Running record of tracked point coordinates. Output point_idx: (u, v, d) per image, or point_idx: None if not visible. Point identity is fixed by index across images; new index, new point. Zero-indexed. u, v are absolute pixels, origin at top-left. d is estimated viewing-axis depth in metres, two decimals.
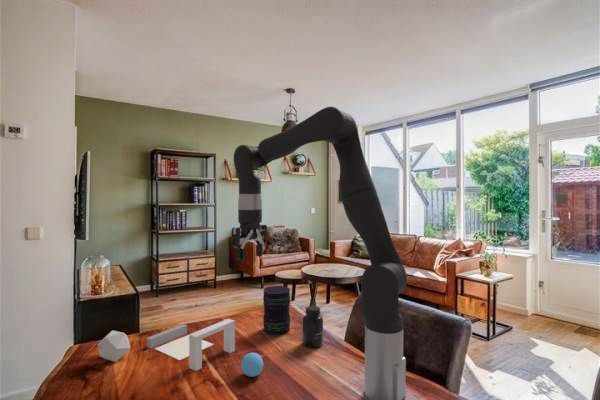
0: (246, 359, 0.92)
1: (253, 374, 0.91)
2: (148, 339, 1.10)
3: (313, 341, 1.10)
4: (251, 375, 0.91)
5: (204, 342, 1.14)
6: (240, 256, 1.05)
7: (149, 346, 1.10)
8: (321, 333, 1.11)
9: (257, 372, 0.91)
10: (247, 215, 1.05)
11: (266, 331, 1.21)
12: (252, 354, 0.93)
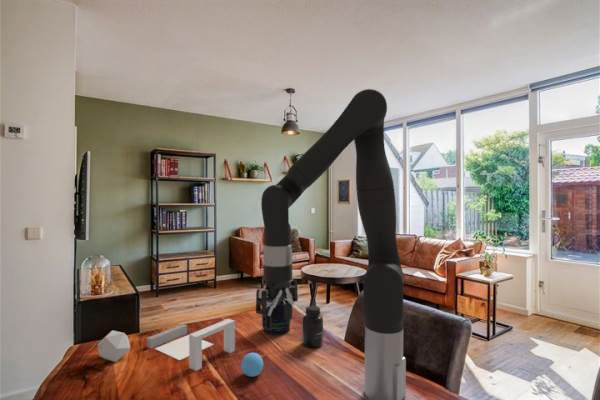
0: (246, 359, 0.92)
1: (253, 374, 0.91)
2: (148, 339, 1.10)
3: (313, 341, 1.10)
4: (251, 375, 0.91)
5: (204, 342, 1.14)
6: (267, 325, 0.84)
7: (149, 346, 1.10)
8: (321, 333, 1.11)
9: (257, 372, 0.91)
10: (275, 273, 0.84)
11: (266, 331, 1.21)
12: (252, 354, 0.93)
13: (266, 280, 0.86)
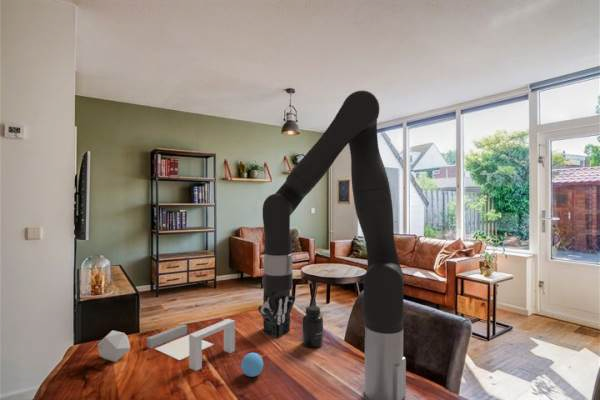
0: (246, 359, 0.92)
1: (253, 374, 0.91)
2: (148, 339, 1.10)
3: (313, 341, 1.10)
4: (251, 375, 0.91)
5: (204, 342, 1.14)
6: (276, 333, 0.87)
7: (149, 346, 1.10)
8: (321, 333, 1.11)
9: (257, 372, 0.91)
10: (275, 282, 0.84)
11: (266, 331, 1.21)
12: (252, 354, 0.93)
13: (266, 289, 0.85)
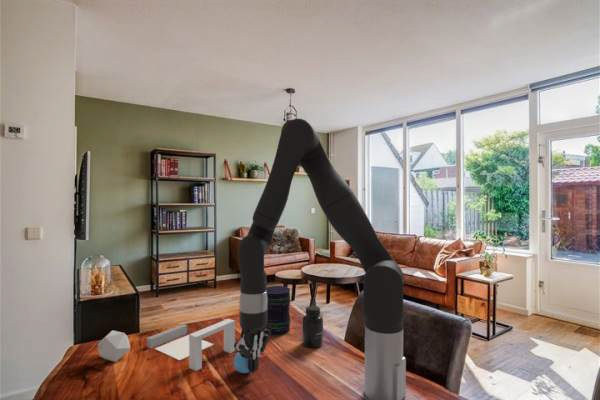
0: (235, 357, 0.95)
1: (246, 365, 0.93)
2: (148, 339, 1.10)
3: (313, 341, 1.10)
4: (245, 367, 0.93)
5: (204, 342, 1.14)
6: (252, 367, 0.91)
7: (149, 346, 1.10)
8: (321, 333, 1.11)
9: None
10: (250, 320, 0.88)
11: None
12: None
13: (242, 326, 0.89)
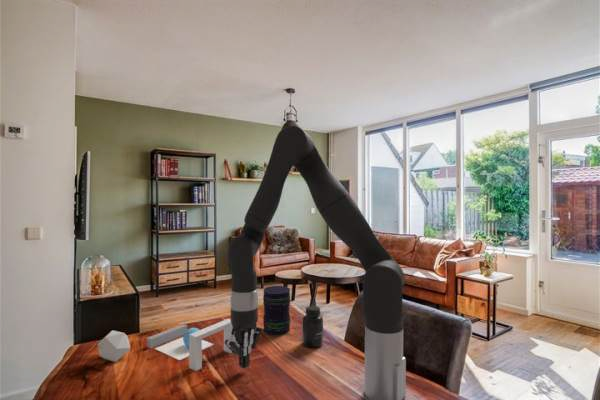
0: None
1: (186, 331, 1.10)
2: (148, 339, 1.10)
3: (313, 341, 1.10)
4: (187, 331, 1.10)
5: (204, 342, 1.14)
6: (243, 364, 0.94)
7: (149, 346, 1.10)
8: (321, 333, 1.11)
9: (187, 330, 1.12)
10: (241, 317, 0.91)
11: (266, 331, 1.21)
12: None
13: (232, 323, 0.92)
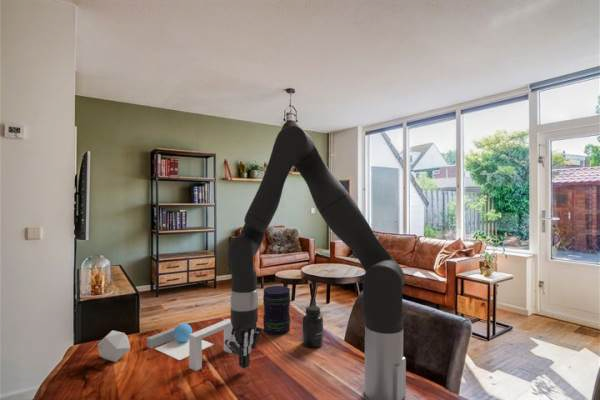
0: (180, 335, 1.12)
1: None
2: (148, 339, 1.10)
3: (313, 341, 1.10)
4: None
5: (204, 342, 1.14)
6: (243, 364, 0.94)
7: (149, 346, 1.10)
8: (321, 333, 1.11)
9: None
10: (241, 317, 0.91)
11: (266, 331, 1.21)
12: (187, 335, 1.13)
13: (232, 323, 0.92)
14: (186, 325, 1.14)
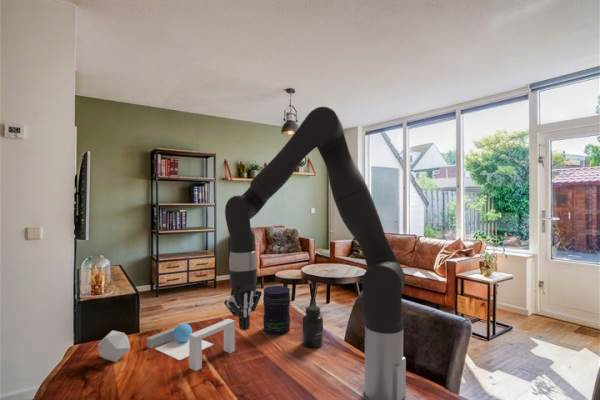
0: (180, 335, 1.12)
1: None
2: (148, 339, 1.10)
3: (313, 341, 1.10)
4: None
5: (204, 342, 1.14)
6: (243, 325, 0.93)
7: (149, 346, 1.10)
8: (321, 333, 1.11)
9: None
10: (240, 277, 0.91)
11: (266, 331, 1.21)
12: (187, 335, 1.13)
13: (232, 284, 0.92)
14: (186, 325, 1.14)
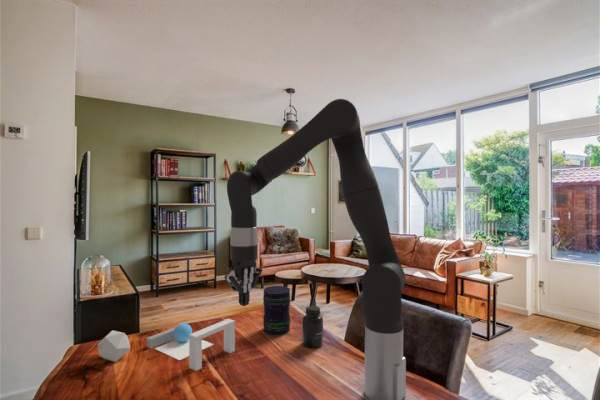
0: (180, 335, 1.12)
1: None
2: (148, 339, 1.10)
3: (313, 341, 1.10)
4: None
5: (204, 342, 1.14)
6: (243, 301, 0.94)
7: (149, 346, 1.10)
8: (321, 333, 1.11)
9: None
10: (240, 252, 0.91)
11: (266, 331, 1.21)
12: (187, 335, 1.13)
13: (232, 259, 0.92)
14: (186, 325, 1.14)
